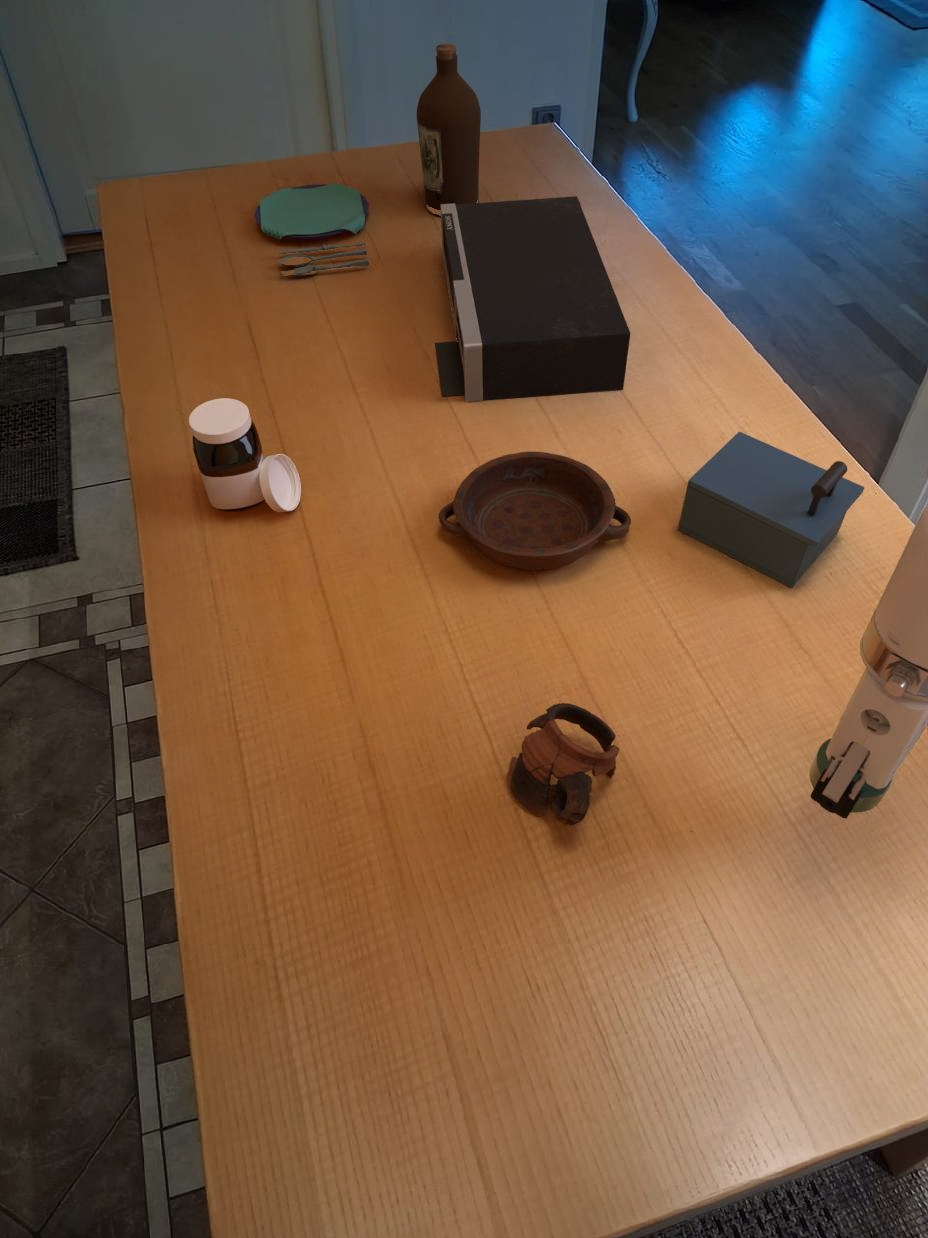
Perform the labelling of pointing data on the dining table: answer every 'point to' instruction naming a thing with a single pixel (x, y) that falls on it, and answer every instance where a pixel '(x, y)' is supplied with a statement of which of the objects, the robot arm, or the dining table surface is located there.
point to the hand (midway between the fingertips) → (848, 777)
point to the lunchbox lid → (778, 487)
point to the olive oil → (449, 134)
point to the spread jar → (239, 460)
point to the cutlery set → (314, 219)
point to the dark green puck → (869, 794)
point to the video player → (528, 303)
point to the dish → (534, 510)
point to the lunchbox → (749, 538)
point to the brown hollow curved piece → (561, 764)
